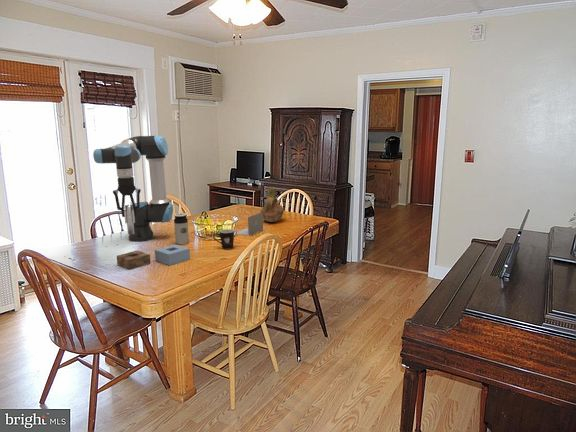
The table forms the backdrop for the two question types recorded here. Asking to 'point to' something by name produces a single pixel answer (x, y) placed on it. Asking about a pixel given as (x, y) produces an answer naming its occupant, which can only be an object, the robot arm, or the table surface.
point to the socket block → (172, 254)
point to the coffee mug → (226, 238)
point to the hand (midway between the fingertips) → (130, 222)
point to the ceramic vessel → (272, 207)
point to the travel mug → (181, 228)
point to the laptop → (253, 225)
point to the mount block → (133, 259)
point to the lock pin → (129, 219)
